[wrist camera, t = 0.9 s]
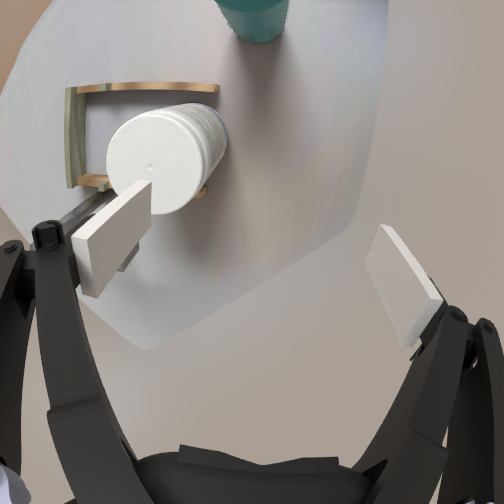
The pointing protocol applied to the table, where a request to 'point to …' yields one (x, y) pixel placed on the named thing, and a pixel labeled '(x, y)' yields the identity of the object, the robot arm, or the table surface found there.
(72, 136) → the bay board
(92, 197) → the hook post
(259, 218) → the table surface
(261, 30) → the beverage bottle
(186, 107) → the supplement tub
